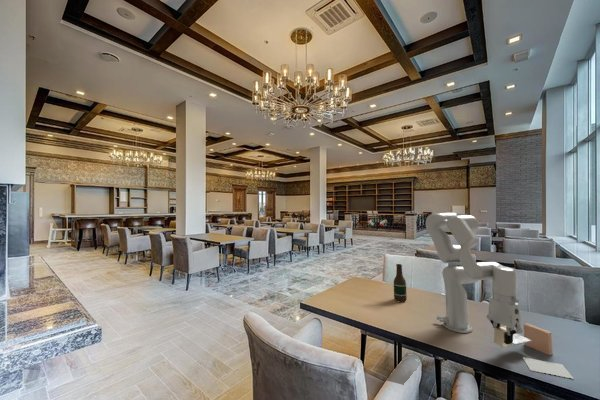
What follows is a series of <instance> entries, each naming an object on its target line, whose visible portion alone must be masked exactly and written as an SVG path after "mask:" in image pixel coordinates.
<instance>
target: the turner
mask: <svg viewBox="0 0 600 400" xmlns="http://www.w3.org/2000/svg"><path fill="white" fill-rule="evenodd" d="M506 334H507V331H506V327H505V326H500V327H498V328H495V331H494V335H493V343H494V344H496V345H498V346H500V347H502V348H505V347H510V346H512V345H514V346H518V345H522V344H524V343H528V342H532V340H530V339H528V338H525V337H524V335H521V334H520V333H516V334H513V342H512V343H511V344H506V343H505V337H506Z"/></svg>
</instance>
